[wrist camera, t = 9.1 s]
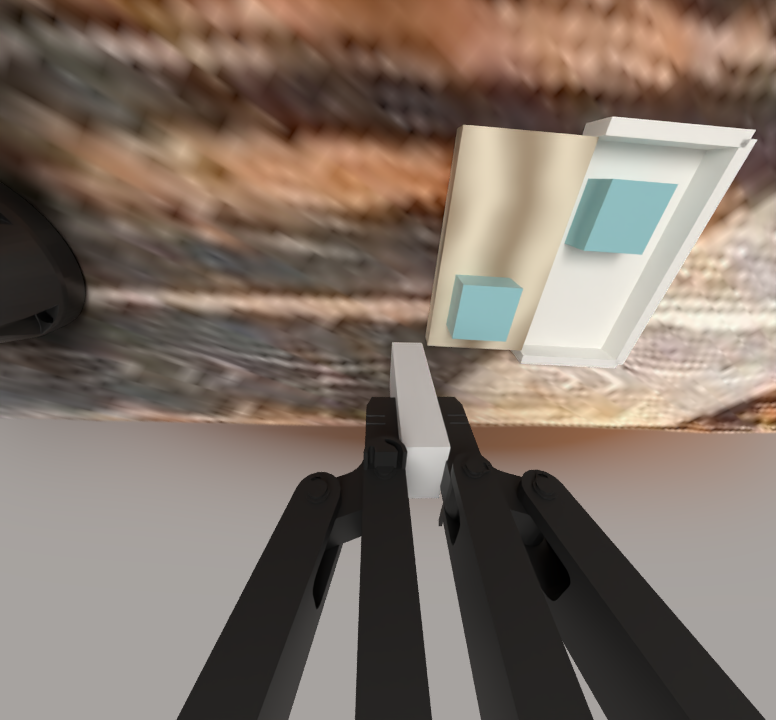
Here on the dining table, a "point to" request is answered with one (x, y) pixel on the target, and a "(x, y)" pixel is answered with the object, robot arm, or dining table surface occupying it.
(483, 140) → the board
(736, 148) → the tray
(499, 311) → the tile
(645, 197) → the tile
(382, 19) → the dining table surface
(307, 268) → the dining table surface
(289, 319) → the dining table surface
